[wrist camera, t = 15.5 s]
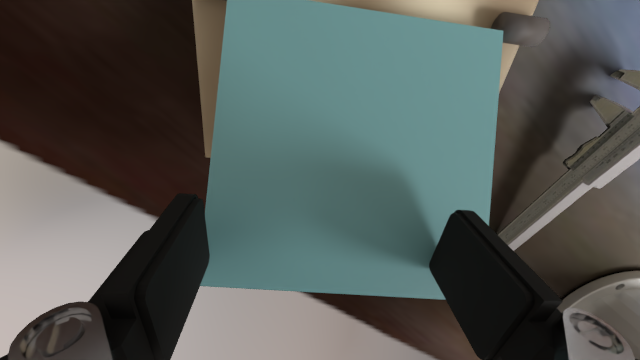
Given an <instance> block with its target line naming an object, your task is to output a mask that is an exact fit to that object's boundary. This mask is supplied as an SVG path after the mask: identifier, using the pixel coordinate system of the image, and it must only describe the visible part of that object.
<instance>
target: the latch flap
mask: <svg viewBox="0 0 640 360" xmlns="http://www.w3.org/2000/svg"><path fill="white" fill-rule="evenodd" d="M502 44H503V31H502V30H495V29H489V28H482V27H476V26H470V25H463V24H457V23H450V22H444V21H438V20H431V19H425V18H418V17H412V16H406V15H399V14H393V13H386V12H380V11H374V10H367V9H361V8H354V7H348V6H342V5H335V4H329V3H322V2H316V1H310V0H227V6H226V16H225V25H224V35H223V44H222V54H221V64H220V73H219V83H218V92H217V102H216V112H215V121H214V131H213V140H212V150H211V160H210V169H209V179H208V189H207V198H206V208H205V221H206V229H207V237H208V245H209V253H210V259H209V264H208V267H207V269H206V272H205V274H204V277H203V279H202V282H201V284H200V286H211V287H230V288H246V289H264V290H282V291H283V290H284V291H300V292H317V293H335V294H353V295H371V296H388V297H406V298H424V299H442V300H446V299H445V297H444V295H443V293H442V292H441V290H440V288H439V286H438V284H437V283H436V281H435V279H434V277H433V275H432V273H431V272H430V268H429V263H430V260H431V258H432V255H433V253H434V251H435V249H436V246H437V244H438V242H439V239H440V237H441V235H442V232H443V230H444V228H445V226H446V223H447V221H448V219H449V216H450V215H451V214H452V213H454V212H455V211H456V210H471V211H474V212H475V213H476V214H477V215H478V216H479V217H480V218H481V219H482V220H483V221H484V222H485V223H486V224H487V225H488V226H489V217H490V204H491V191H492V177H493V164H494V151H495V137H496V124H497V111H498V97H499V84H500V70H501V57H502Z"/></svg>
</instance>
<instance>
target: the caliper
mask: <svg viewBox="0 0 640 360" xmlns="http://www.w3.org/2000/svg"><path fill="white" fill-rule="evenodd" d="M610 76H611V77H613V78H616V79H618V80H620V81H622V82H624V83H626V84H628V85H630V86H632V87H634V88H636V89H638V90H640V71H637V70H622V69H620V70H618V71H616V72H614V73H613V74H612V75H610ZM590 103H591V104H592V106H593V107H594V109H595V110H596V111H597V113H598V114H599V116H600V117H601V119H602V120H603V122H604V123H605V125H606V126H607V127H608V128H607V129H606V130H605V131H604V132H603V133H602V134H601V135H600V136H599V137H594V138H593V139H591V140H589V141H587V142H586V143H584V144H582V145H581V146H580V147H579V148H578V149H577V151H576V153H574V154H573V155H572V156H570V157H568V158H567V159H565V160H564V162H563V165H565V166H566V167H567V168H568V169H569V170H568V171H567V172H566V173H565V174H564V175H563V176H561V177H560V178H559V179H558V180H557V181H556V182H555V183H554V184H553V185H552V186H550V187H549V188H548V189H547V190H546V191H545V192H544V193H543V194H542V195H541V196H539V197H538V198H537V199H536V200H535V201H534V202H533V203H532V204H531V205H530V206H528V207H527V208H526V209H525V210H524V211H523V212H522V213H521V214H520V215H519V216H517V217H516V218H515V219H514V220H513V221H512V222H511V223H510V224H509V225H507V226H506V227H505V228H504V229H503V230H502V231H501V232H500V233H499V234H497V235H498V236H499V237H500V238H501V239H502V240H503V241H504V242H505V243H506V244H507V245H508V246H509V247H510V248H511V249H512V250H513V251H514V250H515V249H517V248H518V247H519V246H520V245H522V244H523V243H524V242H525V241H526V240H528V239H529V238H530V237H531V236H533V235H534V234H535V233H536V232H538V231H539V230H540V229H541V228H543V227H544V226H545V225H546V224H547V223H549V222H550V221H551V220H552V219H554V218H555V217H556V216H557V215H559V214H560V213H561V212H562V211H564V210H565V209H566V208H567V207H568V206H570V205H571V204H572V203H573V202H575V201H576V200H577V199H578V198H580V197H581V196H582V195H583V194H585V193H586V192H587V191H588V190H590V189H591V188H592V187H596V188H599V189H601V188H602V187H603V186H604V185H606V184H607V183H608V182H610V181H611V180H612V179H614V178H615V177H616V176H618V175H619V174H620V173H621V172H623V171H624V170H625V169H627V168H628V167H629V166H631V165H632V164H633V163H635V162H636V161H637V160H638V159H640V107H638V108H637V109H636V110H635V111H634V112H633V111H631V110H629V109H627V108H626V107H624V106H622V105H620V104H618V103H616V102H614V101H611V100H608V99H606V98H603V97H601V96H598V95H595V96H594V97H593V98H592V100H591V101H590Z"/></svg>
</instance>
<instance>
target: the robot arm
mask: <svg viewBox="0 0 640 360" xmlns="http://www.w3.org/2000/svg"><path fill="white" fill-rule="evenodd" d="M209 259H210V253H209V245H208V237H207V229H206V221H205V212H204V204H203V200H202V199H198V197H197V195H196V194H177V195H176V196H175V198H174V199H173V200H172V202H171V203H170V204H169V205H168V207H167V208H166V209H165V211H164V212H163V213H162V214H161V216H160V217H159V218H158V220H157V221H156V222H155V224H154V225H153V226H152V227H151V229H150V230H148V231H145V232H144V233H143V234H142V235H141V236H140V237H139V239H138V240H137V241H136V242H135V244H134V245H133V246H132V248H131V249H130V250H129V251H128V252H127V254H126V255H125V256H124V258H123V259H122V260H121V261H120V262H119V264H118V265H117V266H116V268H115V269H114V270H113V271H112V273H111V274H110V275H109V276H108V278H107V279H106V280H105V281H104V283H103V284H102V285H101V286H100V288H99V289H98V290H97V291H96V293H95V294H94V295H93V296H92V298H91V299H90V300H89V301H88V302H74V303H68V304H65V305H62V306H59V307H56V308H54V309H52V310H50V311H48V312H46V313H44V314H42V315H40V316H39V317H38V318H36V319H35V320H33V321H32V322H31V323H29V324H28V325H27V326H26V327H25V328H24V329H23V330H22V331H21V332H20V333H19V334H18V335H17V337H16V338H15V339H14V341H13V342H12V344H11V346H10V350H9V353H8V354H7V355H5V356H3V357H1V358H0V360H170V359H171V356H172V354H173V352H174V349H175V347H176V344H177V342H178V339H179V337H180V334H181V332H182V329H183V326H184V324H185V322H186V319H187V317H188V314H189V312H190V309H191V307H192V304H193V302H194V299H195V296H196V294H197V292H198V289H199V287H200V284H201V282H202V279H203V277H204V274H205V272H206V269H207V267H208V264H209ZM429 268H430V272H431V273H432V275H433V277H434V279H435V281H436V283H437V284H438V286H439V288H440V290H441V292H442V293H443V295H444V297H445V299H446V301H447V303H448V304H449V306H450V308H451V310H452V312H453V313H454V315H455V317H456V319H457V321H458V323H459V324H460V326H461V328H462V330H463V332H464V333H465V335H466V337H467V339H468V341H469V343H470V344H471V346H472V348H473V350H474V352H475V353H476V355H477V356H478V357H479V358H480V359H482V360H640V271H627V272H621V273H616V274H612V275H609V276H605V277H602V278H600V279H597V280H595V281H592V282H590V283H588V284H586V285H584V286H582V287H580V288H578V289H577V290H575V291H574V292H572V293H571V294H569V295H568V296H567V297H566V298H564V299H563V300H561V299H560V298H559V297H558V296H557V295H556V294H555V293H554V292H553V291H552V290H551V289H550V288H549V286H548V285H547V284H546V283H545V282H544V281H543V280H542V279H541V278H540V277H539V276H538V275H537V274H536V273H535V272H534V271H533V270H532V269H531V268H530V267H529V266H528V265H527V264H526V263H525V262H524V261H523V260H522V259H521V258H520V257H519V256H518V255H517V254H516V253H515V252H514V251H513V250H512V249H511V248H510V247H509V246H508V245H507V244H506V243H505V242H504V241H503V240H502V239H501V238H500V237H499V236H498V235H497V234H496V233H495V232H494V231H493V230H492V229H491V228H490V227H489V226H488V225H487V224H486V223H485V222H484V221H483V220H482V219H481V218H480V217H479V216H478V215H477V214H476V213H475V212H474V211H471V210H456V211H455V212H454V213H452V214H451V215H450V216H449V219H448V221H447V223H446V226H445V228H444V230H443V232H442V235H441V237H440V239H439V242H438V244H437V246H436V249H435V251H434V253H433V255H432V258H431V260H430V263H429Z"/></svg>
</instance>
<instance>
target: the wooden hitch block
mask: <svg viewBox="0 0 640 360" xmlns="http://www.w3.org/2000/svg"><path fill="white" fill-rule="evenodd" d="M310 1H316V2H322V3H329V4H335V5H342V6H348V7H354V8H361V9H367V10H374V11H380V12H386V13H393V14H399V15H406V16H412V17H418V18H425V19H431V20H438V21H444V22H450V23H457V24H463V25H470V26H476V27H482V28H489V29H495V30H502V31H503V44H502V57H501V70H500V84H499V92H500V89H501V87H502V85H503V82H504V80H505V78H506V75H507V73H508V71H509V68H510V66H511V64H512V61H513V59H514V57H515V55H516V52H517V50H518V48H519V45H521V46H528V47H535V46H537V45H538V44H540V43H541V42H542V41H543V40H544V39H545V37H546V36H547V34H548V32H549V29H550V21H549V20H548V19H547V18H541V17H535V16H532V15H533V13H534V10H535V8H536V6H537V3H538V1H539V0H310ZM192 5H193V17H194V28H195V40H196V52H197V63H198V75H199V87H200V98H201V110H202V122H203V133H204V145H205V157H207V158H211V150H212V140H213V131H214V121H215V112H216V102H217V92H218V83H219V73H220V64H221V54H222V44H223V35H224V25H225V16H226V6H227V0H192Z"/></svg>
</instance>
